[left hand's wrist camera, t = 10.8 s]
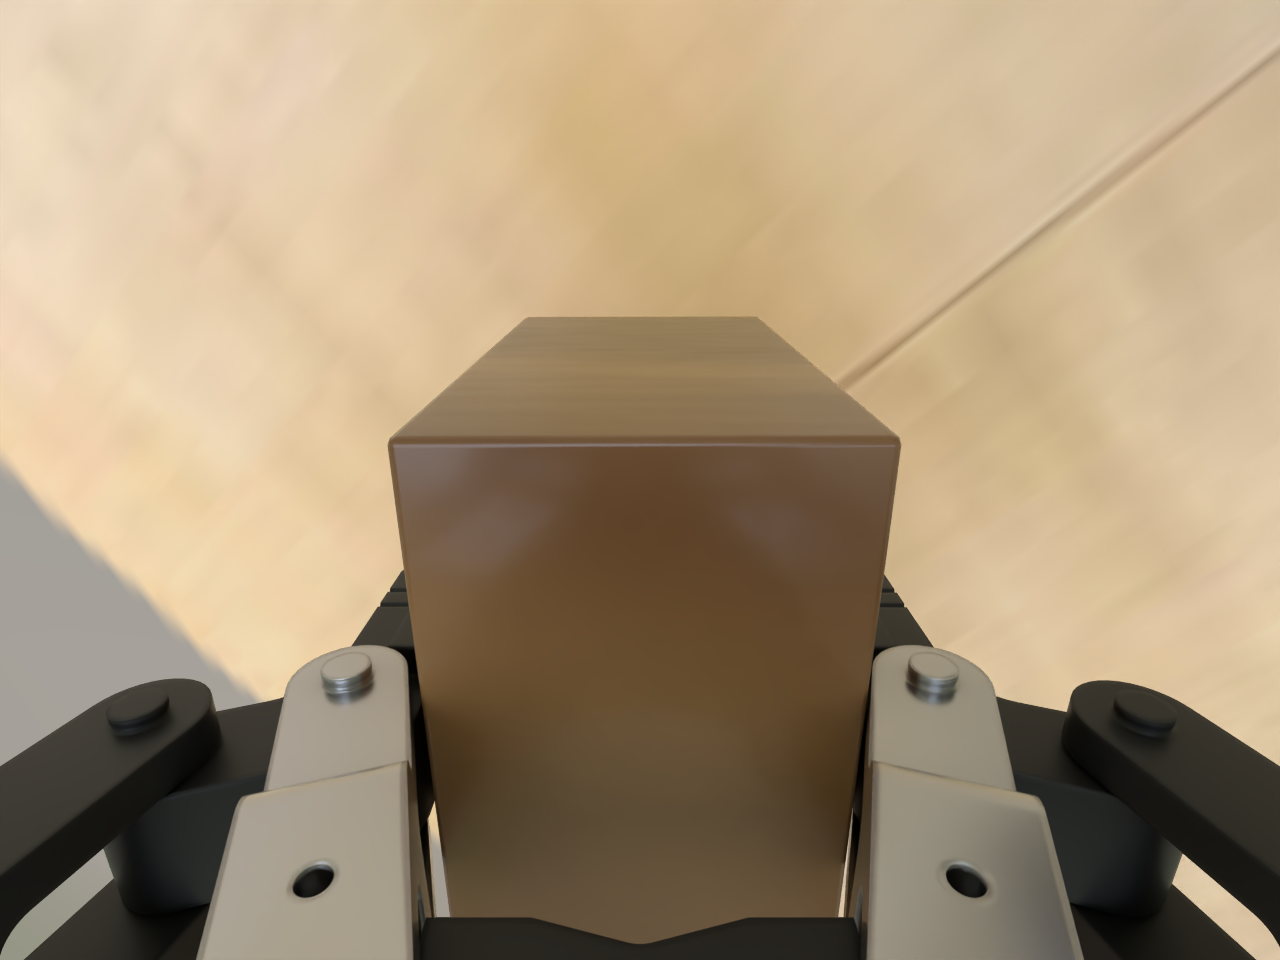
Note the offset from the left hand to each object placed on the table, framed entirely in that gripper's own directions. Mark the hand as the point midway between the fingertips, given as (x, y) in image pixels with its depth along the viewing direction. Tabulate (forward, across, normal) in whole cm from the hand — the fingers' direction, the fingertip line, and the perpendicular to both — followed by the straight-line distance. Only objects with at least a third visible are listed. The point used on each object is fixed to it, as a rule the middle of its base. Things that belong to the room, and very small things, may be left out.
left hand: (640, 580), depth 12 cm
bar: (+4, 0, +7) cm, 8 cm away
